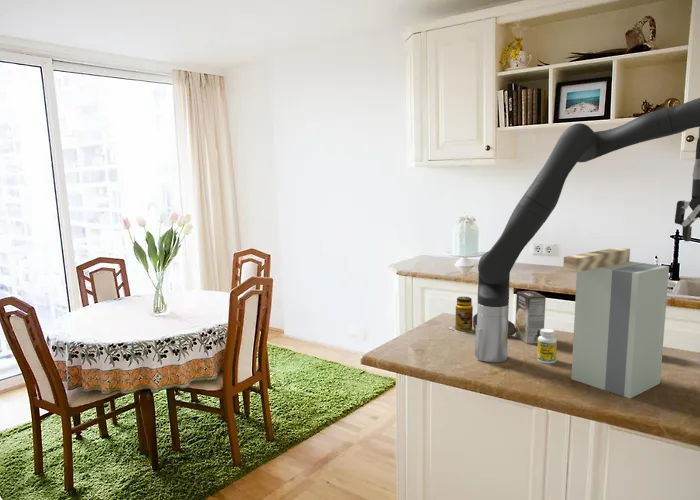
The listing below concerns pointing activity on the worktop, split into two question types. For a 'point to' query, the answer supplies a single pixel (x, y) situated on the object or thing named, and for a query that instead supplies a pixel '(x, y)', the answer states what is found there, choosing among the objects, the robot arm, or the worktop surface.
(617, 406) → the worktop surface
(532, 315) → the coffee box
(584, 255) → the beech rod
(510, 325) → the perforated stone tool
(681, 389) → the worktop surface
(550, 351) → the supplement bottle
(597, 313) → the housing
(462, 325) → the condiment
